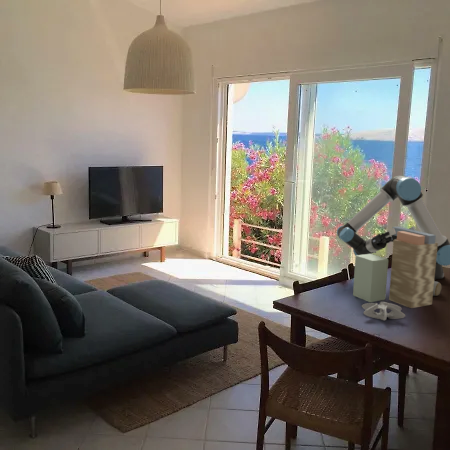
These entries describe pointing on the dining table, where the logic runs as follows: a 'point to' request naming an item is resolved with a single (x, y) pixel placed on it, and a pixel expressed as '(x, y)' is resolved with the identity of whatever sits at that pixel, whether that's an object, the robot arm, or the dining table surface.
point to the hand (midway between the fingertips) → (404, 229)
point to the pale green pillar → (370, 277)
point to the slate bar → (428, 237)
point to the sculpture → (383, 306)
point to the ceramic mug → (436, 288)
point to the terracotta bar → (410, 238)
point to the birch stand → (412, 274)
